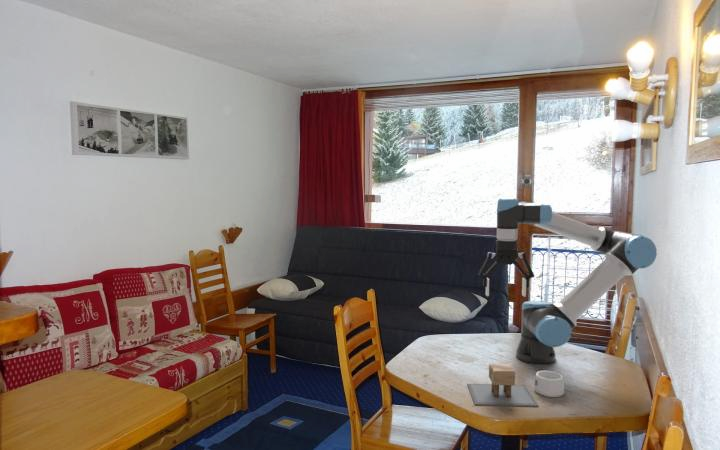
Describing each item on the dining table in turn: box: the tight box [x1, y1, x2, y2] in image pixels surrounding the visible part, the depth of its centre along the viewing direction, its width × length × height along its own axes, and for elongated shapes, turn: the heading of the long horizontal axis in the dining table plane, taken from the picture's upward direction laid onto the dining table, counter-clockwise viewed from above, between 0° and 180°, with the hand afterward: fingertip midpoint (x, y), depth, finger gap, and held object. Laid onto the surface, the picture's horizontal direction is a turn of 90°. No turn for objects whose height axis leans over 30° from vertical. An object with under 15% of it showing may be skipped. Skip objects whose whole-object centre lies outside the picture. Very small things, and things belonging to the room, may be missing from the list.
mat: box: [466, 383, 539, 408], centre depth 167 cm, size 20×16×1 cm
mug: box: [533, 370, 565, 398], centre depth 171 cm, size 12×10×6 cm
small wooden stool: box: [488, 363, 516, 398], centre depth 167 cm, size 7×7×9 cm
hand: (505, 295), depth 187 cm, fingers open, 13 cm apart
